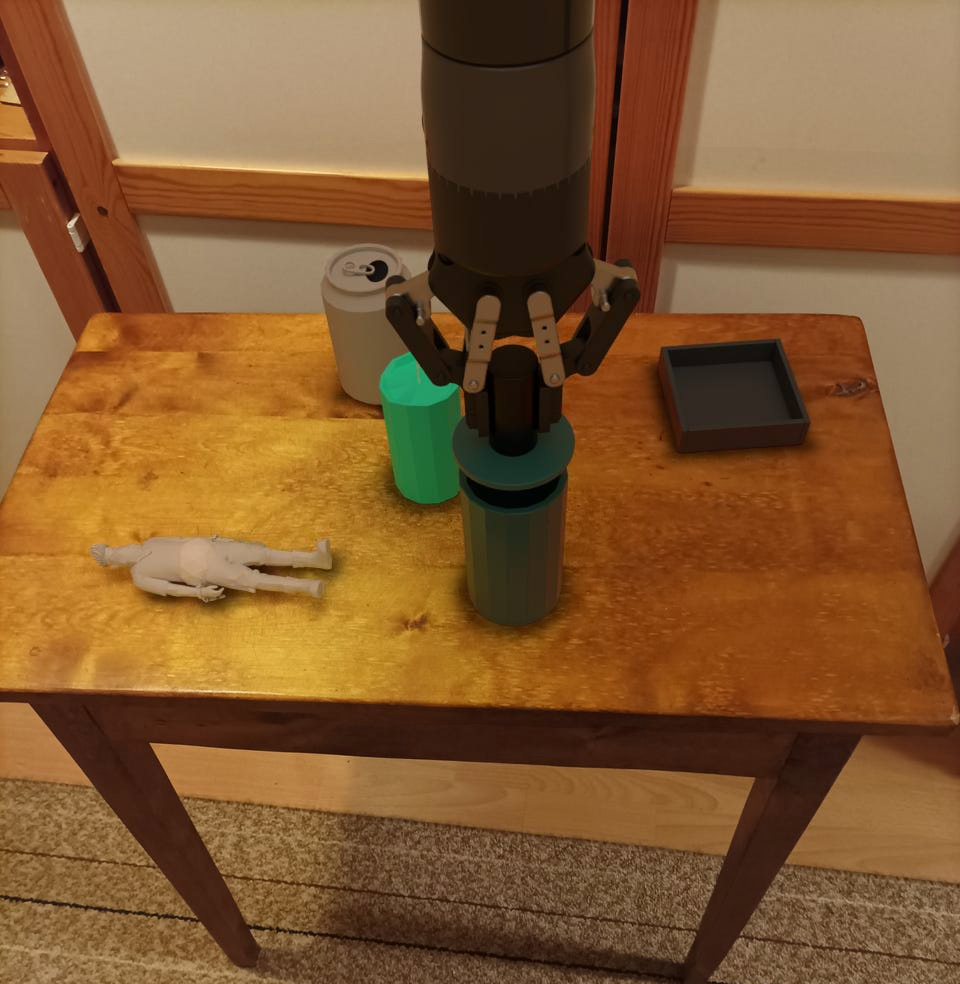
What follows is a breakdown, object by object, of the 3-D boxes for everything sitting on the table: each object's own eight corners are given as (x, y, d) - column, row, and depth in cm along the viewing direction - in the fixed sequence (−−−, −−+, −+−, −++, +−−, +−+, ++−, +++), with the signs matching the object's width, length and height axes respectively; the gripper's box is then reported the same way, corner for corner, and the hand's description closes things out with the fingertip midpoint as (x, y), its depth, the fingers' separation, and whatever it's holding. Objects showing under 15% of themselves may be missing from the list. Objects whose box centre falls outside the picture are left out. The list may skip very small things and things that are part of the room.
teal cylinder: (555, 548, 71) (561, 430, 60) (565, 622, 67) (573, 509, 57) (466, 555, 71) (456, 437, 60) (470, 629, 67) (461, 517, 57)
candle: (432, 440, 78) (419, 323, 68) (481, 476, 75) (475, 359, 65) (380, 478, 76) (358, 362, 66) (428, 516, 73) (414, 402, 63)
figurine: (318, 590, 65) (66, 578, 65) (324, 625, 68) (84, 613, 68) (331, 519, 69) (95, 508, 69) (336, 555, 73) (110, 544, 72)
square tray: (773, 360, 82) (780, 337, 80) (803, 444, 76) (811, 422, 74) (657, 369, 82) (660, 346, 80) (678, 453, 76) (682, 431, 74)
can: (422, 410, 80) (407, 292, 70) (337, 412, 80) (311, 295, 70) (426, 354, 84) (412, 234, 74) (345, 355, 84) (321, 237, 74)
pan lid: (567, 405, 59) (571, 313, 53) (581, 492, 55) (587, 403, 49) (450, 414, 59) (442, 322, 53) (455, 502, 55) (447, 413, 49)
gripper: (350, 197, 39) (398, 479, 53) (680, 173, 39) (638, 461, 53) (353, 107, 43) (397, 391, 57) (651, 84, 43) (620, 375, 57)
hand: (513, 424), depth 55 cm, fingers closed on pan lid, 3 cm apart
